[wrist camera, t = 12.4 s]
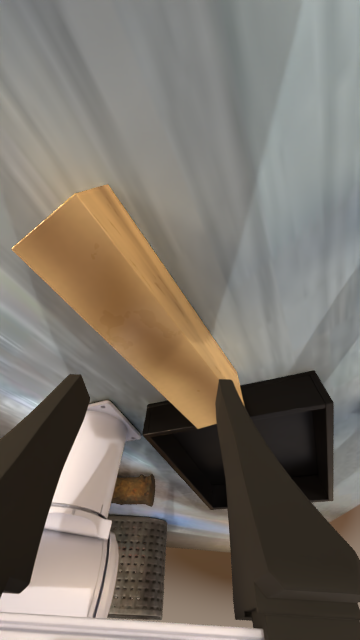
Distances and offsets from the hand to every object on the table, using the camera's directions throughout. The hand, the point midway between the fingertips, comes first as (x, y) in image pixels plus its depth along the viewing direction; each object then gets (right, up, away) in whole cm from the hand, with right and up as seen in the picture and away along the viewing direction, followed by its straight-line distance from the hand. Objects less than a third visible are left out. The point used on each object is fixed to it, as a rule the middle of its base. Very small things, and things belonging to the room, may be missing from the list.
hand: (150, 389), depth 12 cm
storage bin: (-16, -46, +43) cm, 65 cm away
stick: (0, +4, +6) cm, 7 cm away
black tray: (+10, -12, +17) cm, 23 cm away
